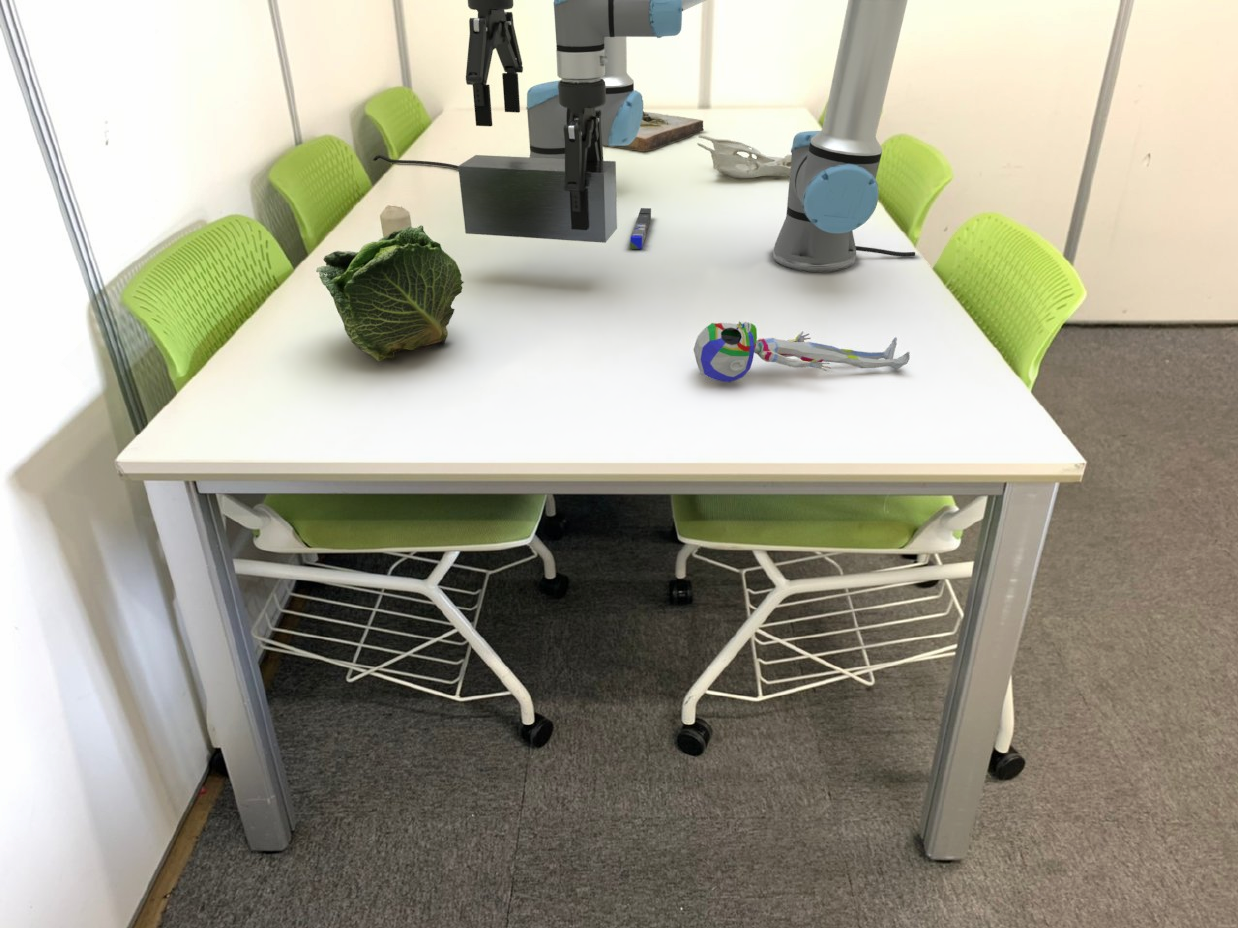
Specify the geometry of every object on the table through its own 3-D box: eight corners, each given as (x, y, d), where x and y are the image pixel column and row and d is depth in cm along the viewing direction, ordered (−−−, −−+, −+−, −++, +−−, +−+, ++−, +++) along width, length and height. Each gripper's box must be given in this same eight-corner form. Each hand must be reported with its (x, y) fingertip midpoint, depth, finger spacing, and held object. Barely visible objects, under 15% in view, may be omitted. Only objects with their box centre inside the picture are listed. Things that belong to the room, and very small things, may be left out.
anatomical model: (699, 131, 223) (801, 130, 220) (699, 169, 228) (798, 168, 225) (695, 146, 211) (802, 144, 207) (695, 185, 216) (799, 184, 212)
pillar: (651, 208, 191) (641, 238, 174) (650, 218, 192) (641, 249, 175) (640, 208, 191) (630, 238, 174) (640, 218, 192) (630, 249, 175)
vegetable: (383, 372, 146) (305, 267, 139) (481, 306, 148) (409, 199, 140) (387, 399, 128) (297, 280, 120) (499, 324, 129) (417, 201, 122)
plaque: (647, 125, 237) (559, 112, 252) (647, 153, 241) (560, 139, 256) (706, 107, 258) (622, 97, 273) (705, 133, 262) (622, 121, 277)
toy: (920, 350, 124) (709, 333, 119) (901, 404, 128) (697, 389, 123) (893, 321, 132) (695, 304, 127) (877, 373, 137) (685, 357, 132)
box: (465, 233, 156) (457, 166, 150) (482, 220, 163) (475, 155, 157) (605, 243, 151) (603, 173, 145) (617, 228, 157) (615, 161, 151)
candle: (421, 255, 174) (414, 203, 169) (406, 264, 170) (398, 212, 164) (396, 252, 176) (388, 201, 170) (381, 261, 171) (372, 209, 166)
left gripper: (481, -13, 136) (492, 133, 147) (535, -22, 157) (541, 107, 168) (436, -14, 138) (450, 131, 149) (495, -22, 158) (504, 106, 169)
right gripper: (586, 91, 132) (591, 242, 145) (620, 69, 149) (622, 205, 161) (538, 90, 134) (547, 239, 146) (577, 68, 151) (582, 203, 163)
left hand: (498, 119), depth 158 cm, fingers open, 13 cm apart
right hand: (586, 221), depth 154 cm, fingers closed on box, 8 cm apart
